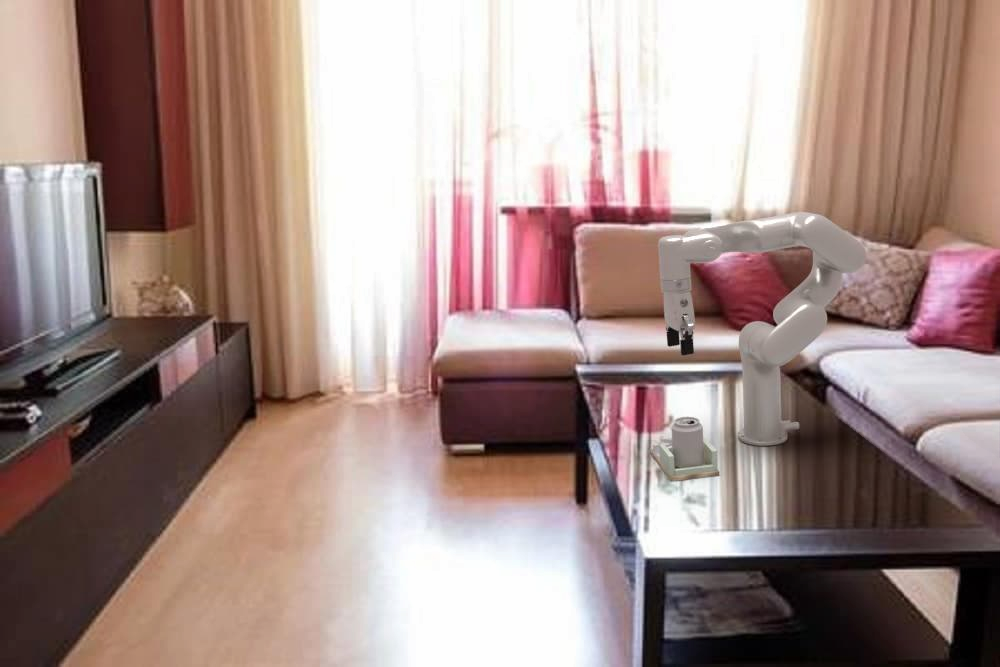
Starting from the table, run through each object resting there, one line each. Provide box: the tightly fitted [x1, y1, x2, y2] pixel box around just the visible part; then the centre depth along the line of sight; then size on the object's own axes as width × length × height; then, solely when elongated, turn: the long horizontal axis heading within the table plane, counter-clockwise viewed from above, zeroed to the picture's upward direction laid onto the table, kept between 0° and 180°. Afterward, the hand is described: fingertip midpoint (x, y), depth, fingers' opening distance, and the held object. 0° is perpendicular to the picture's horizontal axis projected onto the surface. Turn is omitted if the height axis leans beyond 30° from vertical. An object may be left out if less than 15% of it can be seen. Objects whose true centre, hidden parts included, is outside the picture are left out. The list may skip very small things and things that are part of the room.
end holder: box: [659, 438, 719, 476], centre depth 218 cm, size 12×10×5 cm
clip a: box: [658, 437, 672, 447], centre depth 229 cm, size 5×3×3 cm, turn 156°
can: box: [671, 416, 704, 469], centre depth 218 cm, size 8×8×12 cm
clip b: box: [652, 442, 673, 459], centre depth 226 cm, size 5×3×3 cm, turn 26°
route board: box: [649, 448, 720, 482], centre depth 224 cm, size 12×20×1 cm, turn 5°
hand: (680, 349), depth 227 cm, fingers open, 9 cm apart
